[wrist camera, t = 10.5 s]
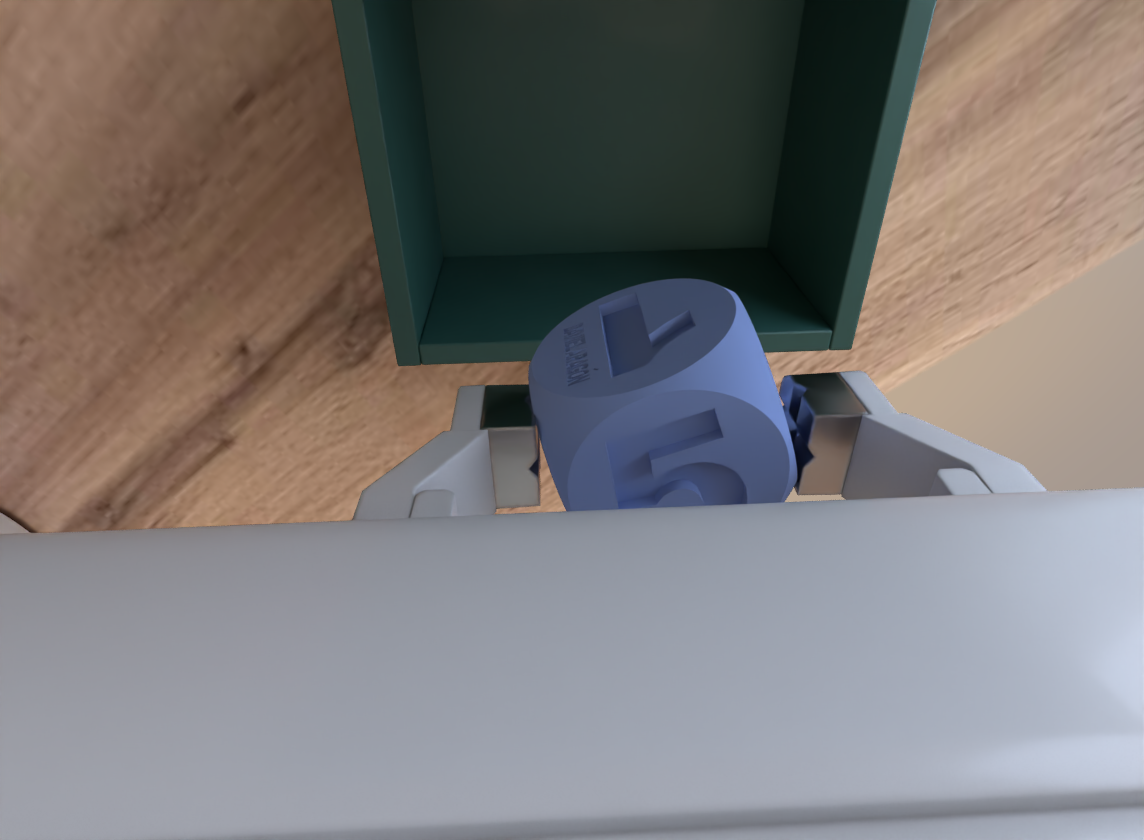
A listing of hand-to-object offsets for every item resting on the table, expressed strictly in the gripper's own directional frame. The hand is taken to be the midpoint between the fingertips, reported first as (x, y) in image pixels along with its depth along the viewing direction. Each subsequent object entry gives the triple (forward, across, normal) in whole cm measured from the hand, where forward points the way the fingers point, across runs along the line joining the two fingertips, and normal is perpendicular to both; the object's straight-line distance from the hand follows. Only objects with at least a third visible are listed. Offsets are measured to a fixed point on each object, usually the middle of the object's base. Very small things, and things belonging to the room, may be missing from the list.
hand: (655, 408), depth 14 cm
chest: (+18, 0, -3) cm, 18 cm away
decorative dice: (+2, 0, 0) cm, 2 cm away
